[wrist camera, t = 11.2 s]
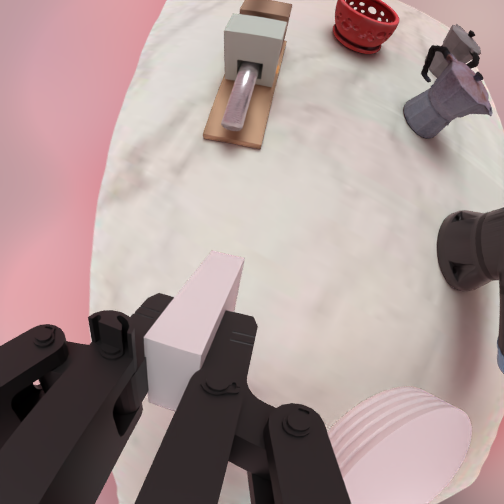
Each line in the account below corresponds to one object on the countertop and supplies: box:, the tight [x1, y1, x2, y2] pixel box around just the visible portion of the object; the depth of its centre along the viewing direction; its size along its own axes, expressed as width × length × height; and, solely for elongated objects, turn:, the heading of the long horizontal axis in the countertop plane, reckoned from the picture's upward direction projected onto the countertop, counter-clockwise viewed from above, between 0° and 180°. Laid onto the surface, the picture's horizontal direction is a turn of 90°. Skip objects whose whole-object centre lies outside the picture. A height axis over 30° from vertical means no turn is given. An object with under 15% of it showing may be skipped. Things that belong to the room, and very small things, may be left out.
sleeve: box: [224, 14, 287, 87], centre depth 35 cm, size 8×5×12 cm, turn 78°
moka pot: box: [404, 45, 492, 138], centre depth 34 cm, size 10×15×20 cm, turn 41°
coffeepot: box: [425, 25, 481, 78], centre depth 38 cm, size 15×9×18 cm, turn 172°
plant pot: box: [333, 0, 399, 54], centre depth 40 cm, size 13×13×12 cm
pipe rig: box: [203, 0, 292, 149], centre depth 37 cm, size 9×26×12 cm, turn 168°
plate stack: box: [327, 386, 472, 504], centre depth 32 cm, size 28×28×12 cm
